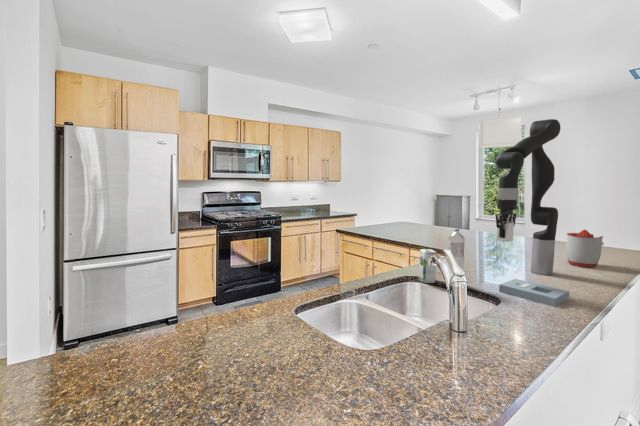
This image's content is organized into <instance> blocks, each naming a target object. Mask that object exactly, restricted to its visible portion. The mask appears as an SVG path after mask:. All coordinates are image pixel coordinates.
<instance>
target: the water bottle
mask: <svg viewBox="0 0 640 426" xmlns="http://www.w3.org/2000/svg"><path fill="white" fill-rule="evenodd" d="M447 242H448V243H447V244H448V245H447V251H448V250H451V252H452V254H453V256H454V259H455V260H456V262H457V264H458V265H459V266H460V267H461V268H462V269H463V271H464V268H465V266H464V265H465V242H466V238H465V237H464V235H463V234H462V233H460V229H459V228H454V232H452V233H451V234H450V235H449V236H448V237H447Z"/></svg>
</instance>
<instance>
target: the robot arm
mask: <svg viewBox="0 0 640 426" xmlns="http://www.w3.org/2000/svg"><path fill="white" fill-rule="evenodd" d="M560 132H561V123H560V122H559V120H558V119H552V118H551V119H541V120H535V121H533V122H532V123H531V124H530V127H529V136H528V137H525V138H523V139H521V140H519V141H518V142H517V143H516V144H514V146H512V147H509V148H507V149H505V150H504V151H501V152H500V153H499V154H498V155H497V156H496V158H495V165H496V167H498V168H499V169H502V170H509V171H508V173H506V174H505V173H504V174H502V175H500V176H499V179H498V181H499V182H498V190H497V201H496V202H497V203H496V208H497V209H498V210H500V211H499V213H498V214H495V224H496V225H495V226H496V228H497V229H498V228H499V229H500V231H499V237H500V238H505V229H506V224H507V223H508V222H510V223H514V227H515V224H516V219H517V213H515V212H514V211H515V210H517V208H518V206H517V205H518V192H519V191H518V183H519V182H518V181H519V177H520V174H521V171H522V168H523V165H524V164H525V159H527V157H528V156H529V155H531V204H530V205H531V207H530V222H531V223H532V225H535V226H536V225H537V226H546V228H545V229H544V230H541V231H535V232H533V235H532V248H531V249H532V250H531V261H530V262H531V264H530V272H531V273H534V274H538V275H543V276H551V275H553V274H554V262H555V248H556V247H555V245H556V234H557V228H558V220H559V210H558V209H557V208H556V207H550V206H541V202H542V200H543V197H544V196H545V195H546V193H547V192H548V190H550V188H551V187H552V185H553V184H554V182H555V166H554V163H553V162H552V160H551V159H550V157H549V156H548V155H547V153H546V151H545V150H544V147H543V145H545V144H547V143H549V142H550V141H553V140H554V139H556V138H557V137H558V136H559V135H560ZM503 224H504V225H503Z"/></svg>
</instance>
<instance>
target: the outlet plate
mask: <svg viewBox="0 0 640 426" xmlns="http://www.w3.org/2000/svg"><path fill="white" fill-rule="evenodd" d="M498 291H499V293H503V294H506V295H511V296H515V297H519V298H521V299H525V300H529V301H533V302H535V303H536V302H537V303H541V304H543V305H547V306H551V307H556V306H559V305H560V304H562V303H564V302H566V301H568V300H569V299H570V291H569V290H567V289H561V288H557V287H552V286H549V285H543V284H540V283H535V282H531V281H526V280H522V279H519V278H518V279H517V278H514V279H511V280H509V281H505V282H503V283H499V286H498Z"/></svg>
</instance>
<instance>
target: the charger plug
mask: <svg viewBox="0 0 640 426" xmlns="http://www.w3.org/2000/svg"><path fill="white" fill-rule="evenodd" d="M503 225H504V224H503ZM514 227H515V226H514V223H510V222H508V223H507V224H506V229H505V238H500V237H499V231H500V229H499V228H497V232H496V233H497V234H496V241H500V242H509V243H510V242H513V240H514Z"/></svg>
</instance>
